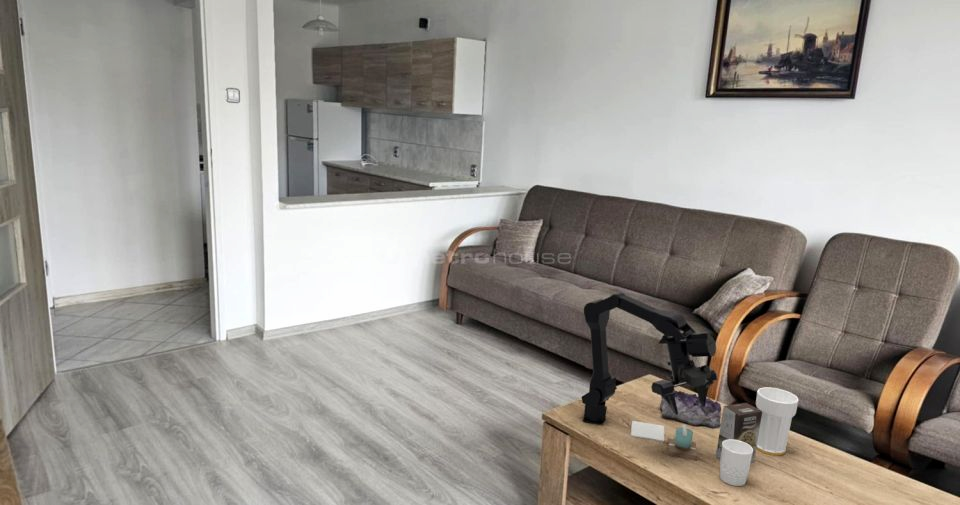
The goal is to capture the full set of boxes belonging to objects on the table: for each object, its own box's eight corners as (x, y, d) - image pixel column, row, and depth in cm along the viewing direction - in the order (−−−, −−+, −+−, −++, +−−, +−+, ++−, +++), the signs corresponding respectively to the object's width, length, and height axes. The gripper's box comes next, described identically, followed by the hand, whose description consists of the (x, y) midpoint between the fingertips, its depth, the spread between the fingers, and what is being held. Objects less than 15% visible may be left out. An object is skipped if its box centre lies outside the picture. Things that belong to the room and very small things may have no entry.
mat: (630, 436, 195) (630, 434, 195) (631, 421, 204) (632, 420, 204) (664, 441, 192) (664, 440, 192) (663, 427, 202) (663, 426, 202)
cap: (691, 449, 183) (693, 434, 182) (674, 446, 185) (676, 431, 184) (690, 440, 189) (692, 426, 188) (674, 437, 190) (676, 423, 189)
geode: (722, 418, 211) (727, 392, 207) (718, 437, 201) (723, 410, 197) (660, 401, 219) (664, 376, 215) (653, 419, 209) (657, 393, 206)
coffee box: (730, 467, 180) (738, 415, 176) (714, 455, 186) (722, 405, 182) (755, 462, 183) (763, 411, 180) (738, 451, 189) (746, 401, 186)
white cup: (750, 489, 169) (756, 455, 167) (719, 485, 170) (724, 451, 168) (744, 474, 177) (749, 441, 175) (715, 469, 178) (719, 437, 176)
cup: (789, 444, 195) (798, 392, 191) (789, 461, 185) (799, 406, 181) (749, 435, 199) (757, 384, 196) (748, 451, 189) (756, 397, 186)
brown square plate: (668, 455, 184) (669, 447, 184) (667, 442, 192) (668, 434, 191) (696, 460, 182) (697, 452, 182) (695, 447, 190) (696, 439, 189)
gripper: (667, 368, 172) (678, 424, 171) (724, 352, 177) (735, 407, 177) (645, 363, 182) (656, 416, 182) (700, 349, 188) (710, 400, 187)
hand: (690, 410), depth 182 cm, fingers open, 9 cm apart
